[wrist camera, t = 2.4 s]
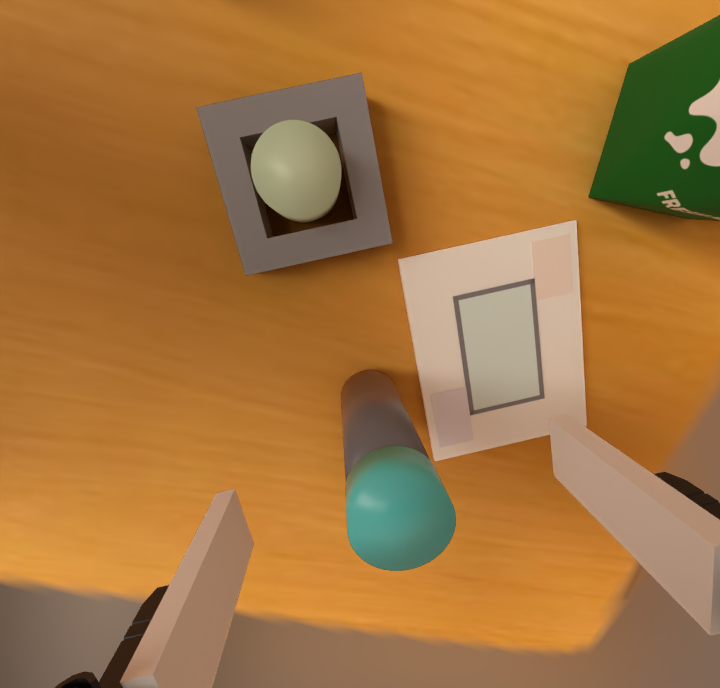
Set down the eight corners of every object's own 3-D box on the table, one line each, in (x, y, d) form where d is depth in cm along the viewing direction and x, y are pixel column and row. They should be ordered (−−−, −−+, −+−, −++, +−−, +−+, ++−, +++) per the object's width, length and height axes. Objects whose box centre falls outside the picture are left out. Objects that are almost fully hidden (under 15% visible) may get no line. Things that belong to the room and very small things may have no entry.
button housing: (255, 273, 21) (245, 275, 19) (212, 125, 19) (196, 107, 17) (386, 244, 21) (392, 243, 19) (358, 94, 19) (361, 72, 17)
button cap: (275, 229, 19) (265, 225, 16) (254, 149, 18) (239, 130, 15) (347, 214, 19) (350, 207, 16) (330, 133, 18) (329, 111, 15)
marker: (346, 423, 24) (360, 581, 12) (334, 372, 23) (336, 492, 12) (399, 410, 24) (462, 556, 13) (389, 360, 23) (447, 466, 12)
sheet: (433, 458, 25) (435, 462, 25) (397, 259, 22) (398, 259, 21) (583, 423, 25) (587, 426, 25) (572, 220, 22) (577, 220, 21)
